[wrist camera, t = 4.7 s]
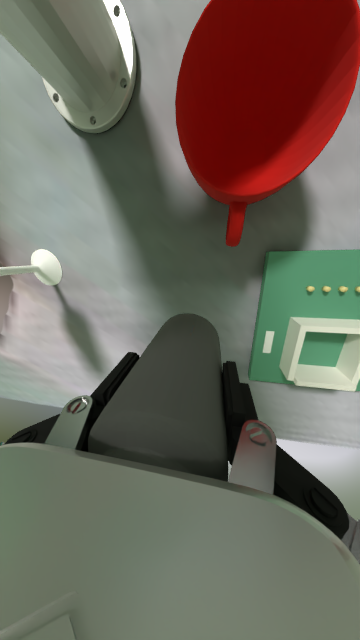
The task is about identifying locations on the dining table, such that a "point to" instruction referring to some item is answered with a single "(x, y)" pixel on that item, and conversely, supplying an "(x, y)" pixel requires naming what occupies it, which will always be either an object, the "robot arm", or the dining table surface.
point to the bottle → (170, 404)
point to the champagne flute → (39, 267)
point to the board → (309, 320)
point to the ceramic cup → (263, 94)
